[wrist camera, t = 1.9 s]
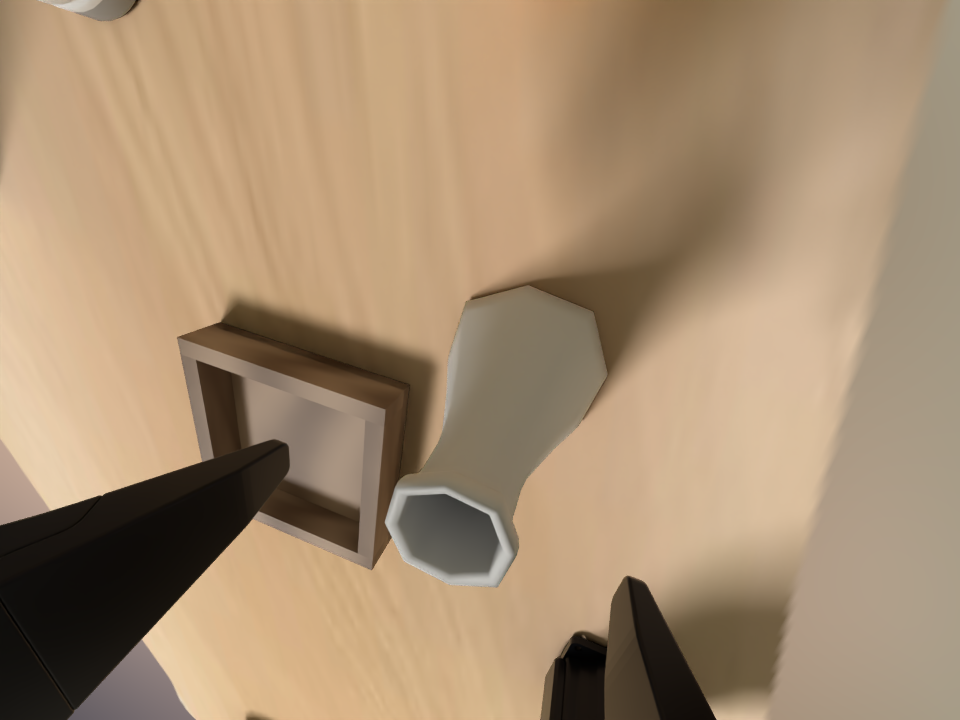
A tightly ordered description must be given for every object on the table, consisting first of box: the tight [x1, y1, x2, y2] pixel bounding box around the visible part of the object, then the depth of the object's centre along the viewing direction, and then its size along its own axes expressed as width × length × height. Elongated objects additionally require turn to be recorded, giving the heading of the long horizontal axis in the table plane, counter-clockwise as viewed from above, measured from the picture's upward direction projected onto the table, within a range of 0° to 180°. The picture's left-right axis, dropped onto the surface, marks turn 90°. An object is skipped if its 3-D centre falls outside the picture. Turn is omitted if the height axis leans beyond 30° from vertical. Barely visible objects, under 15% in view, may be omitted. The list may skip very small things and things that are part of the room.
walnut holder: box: [177, 322, 410, 570], centre depth 22 cm, size 12×12×2 cm
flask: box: [385, 285, 608, 587], centre depth 13 cm, size 7×7×10 cm
